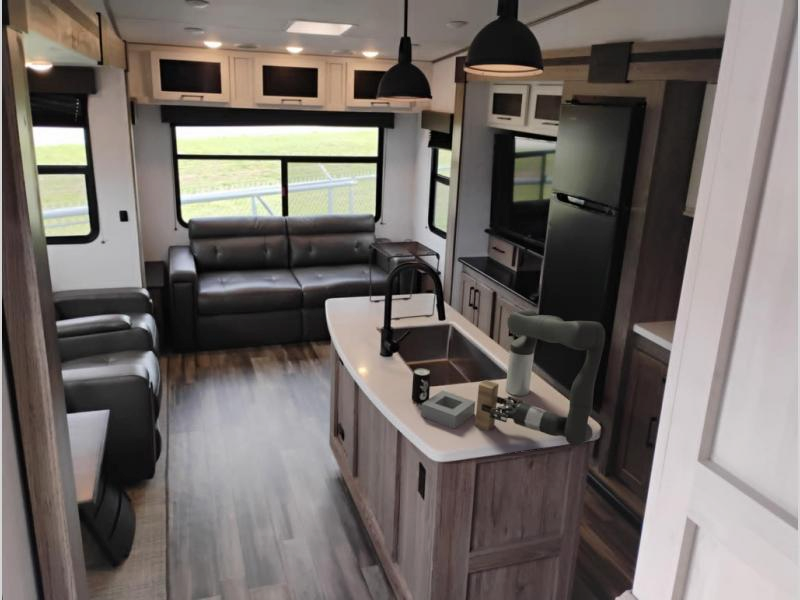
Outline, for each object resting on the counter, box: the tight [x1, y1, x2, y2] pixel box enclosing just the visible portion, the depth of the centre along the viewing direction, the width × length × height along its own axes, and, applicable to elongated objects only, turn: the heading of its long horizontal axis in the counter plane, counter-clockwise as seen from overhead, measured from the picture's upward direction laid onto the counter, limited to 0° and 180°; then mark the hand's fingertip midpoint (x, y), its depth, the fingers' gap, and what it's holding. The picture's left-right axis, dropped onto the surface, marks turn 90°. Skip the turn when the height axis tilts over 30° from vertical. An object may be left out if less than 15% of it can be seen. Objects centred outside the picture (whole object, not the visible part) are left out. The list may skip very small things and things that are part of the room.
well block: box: [420, 390, 476, 429], centre depth 225 cm, size 14×14×5 cm
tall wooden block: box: [474, 379, 499, 431], centre depth 218 cm, size 5×5×16 cm
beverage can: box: [411, 367, 432, 405], centre depth 234 cm, size 7×7×12 cm
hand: (487, 402), depth 217 cm, fingers open, 8 cm apart
